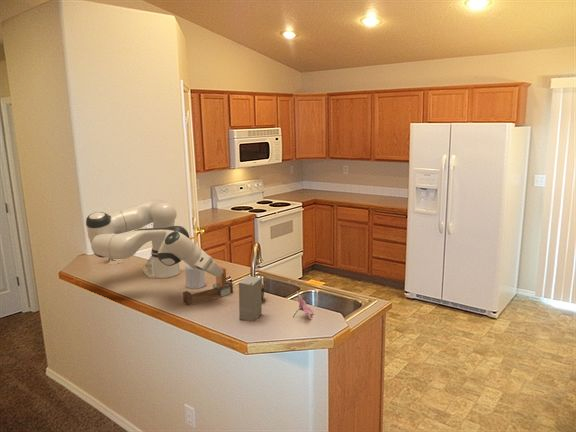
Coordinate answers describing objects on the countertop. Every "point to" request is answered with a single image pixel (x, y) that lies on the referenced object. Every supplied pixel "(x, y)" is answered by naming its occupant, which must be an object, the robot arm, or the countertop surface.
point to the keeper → (222, 284)
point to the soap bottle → (194, 276)
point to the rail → (203, 295)
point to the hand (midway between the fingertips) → (217, 275)
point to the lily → (303, 306)
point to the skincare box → (250, 298)
